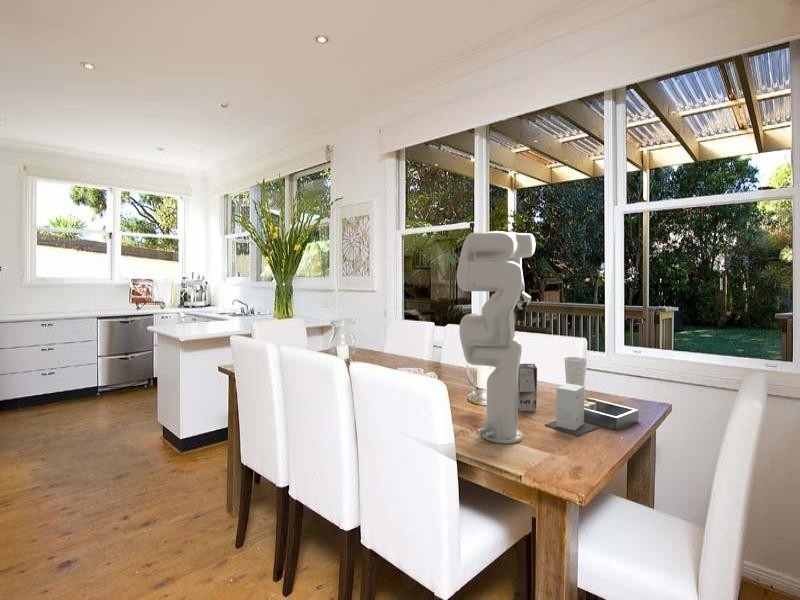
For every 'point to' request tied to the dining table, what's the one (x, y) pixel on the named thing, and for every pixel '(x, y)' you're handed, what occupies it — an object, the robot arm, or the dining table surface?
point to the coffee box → (527, 387)
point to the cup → (575, 370)
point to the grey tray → (610, 415)
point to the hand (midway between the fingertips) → (510, 319)
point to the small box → (570, 406)
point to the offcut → (590, 406)
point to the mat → (577, 432)
